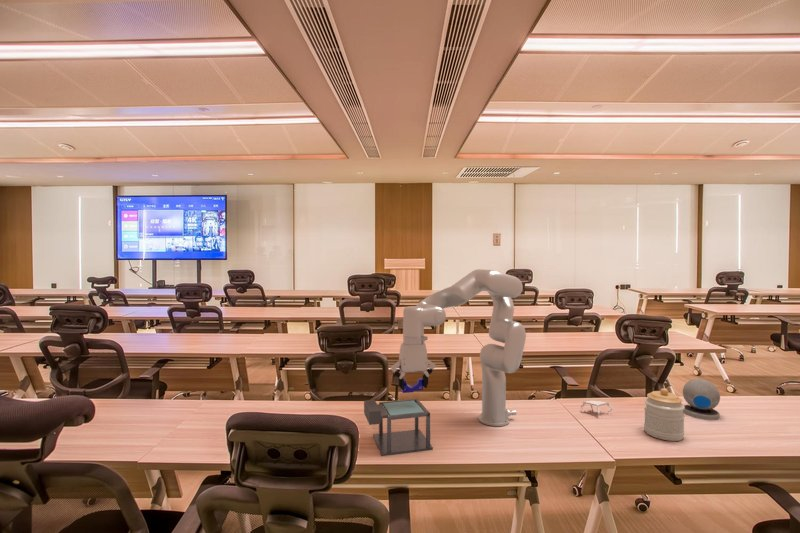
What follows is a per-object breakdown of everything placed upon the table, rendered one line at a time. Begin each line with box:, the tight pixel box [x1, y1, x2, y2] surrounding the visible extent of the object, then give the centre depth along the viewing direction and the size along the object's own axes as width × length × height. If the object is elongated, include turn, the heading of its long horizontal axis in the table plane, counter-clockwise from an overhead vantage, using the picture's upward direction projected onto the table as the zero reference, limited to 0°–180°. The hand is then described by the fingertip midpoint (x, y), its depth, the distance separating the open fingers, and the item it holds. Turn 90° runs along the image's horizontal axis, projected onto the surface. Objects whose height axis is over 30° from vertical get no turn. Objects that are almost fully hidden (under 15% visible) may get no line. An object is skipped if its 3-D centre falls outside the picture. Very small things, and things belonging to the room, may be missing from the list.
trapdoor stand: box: [372, 398, 434, 457], centre depth 148 cm, size 18×16×13 cm
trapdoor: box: [363, 399, 424, 426], centre depth 147 cm, size 19×12×5 cm, turn 105°
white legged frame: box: [580, 400, 614, 418], centre depth 175 cm, size 12×8×5 cm
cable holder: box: [400, 377, 424, 394], centre depth 150 cm, size 8×4×4 cm, turn 101°
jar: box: [643, 387, 685, 442], centre depth 155 cm, size 13×13×18 cm
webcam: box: [682, 378, 721, 421], centre depth 175 cm, size 13×13×15 cm
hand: (413, 387), depth 148 cm, fingers closed on cable holder, 8 cm apart
